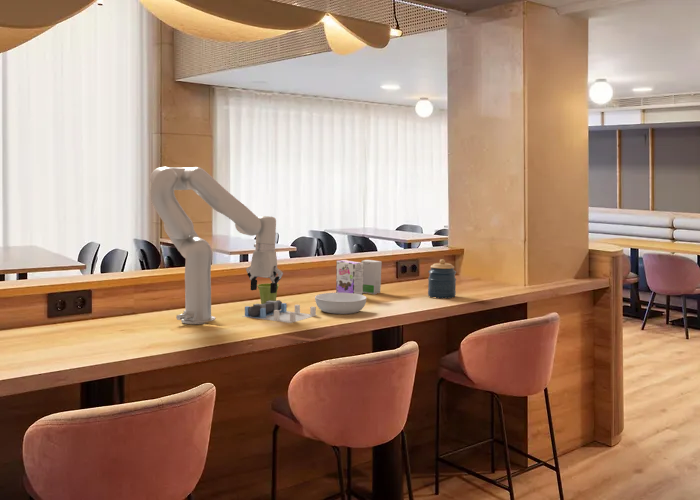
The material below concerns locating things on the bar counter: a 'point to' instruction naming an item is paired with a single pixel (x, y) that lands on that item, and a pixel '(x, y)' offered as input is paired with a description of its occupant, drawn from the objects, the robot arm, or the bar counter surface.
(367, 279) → the skincare box
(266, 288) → the plant pot
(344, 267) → the candy box
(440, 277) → the canister
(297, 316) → the blue grey peg board
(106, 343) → the bar counter surface
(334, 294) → the serving bowl
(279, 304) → the dark grey rounded bar
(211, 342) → the bar counter surface
